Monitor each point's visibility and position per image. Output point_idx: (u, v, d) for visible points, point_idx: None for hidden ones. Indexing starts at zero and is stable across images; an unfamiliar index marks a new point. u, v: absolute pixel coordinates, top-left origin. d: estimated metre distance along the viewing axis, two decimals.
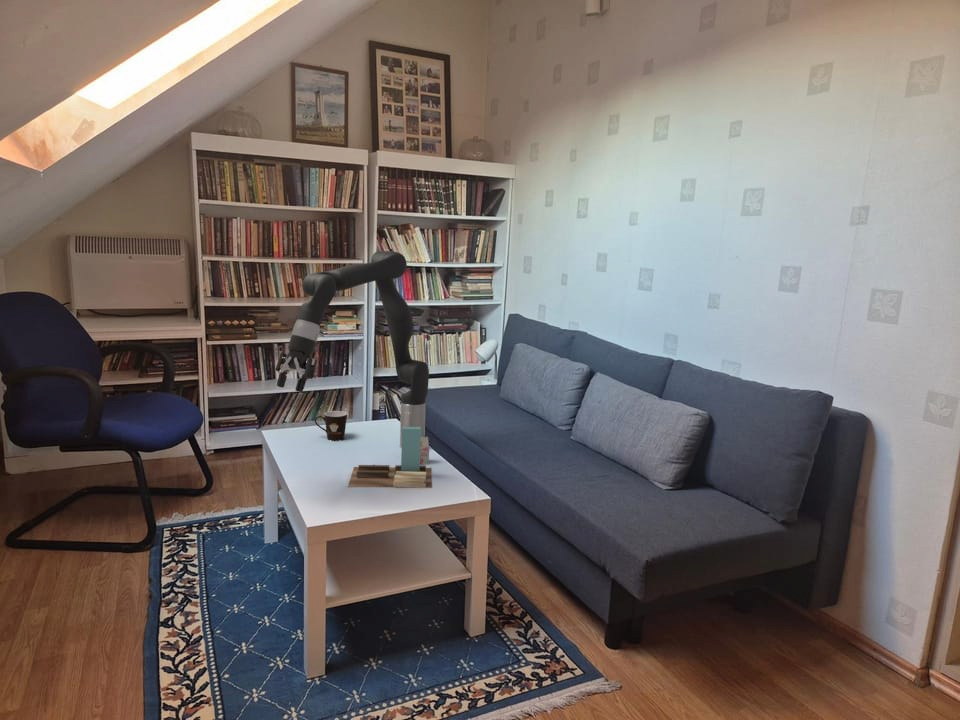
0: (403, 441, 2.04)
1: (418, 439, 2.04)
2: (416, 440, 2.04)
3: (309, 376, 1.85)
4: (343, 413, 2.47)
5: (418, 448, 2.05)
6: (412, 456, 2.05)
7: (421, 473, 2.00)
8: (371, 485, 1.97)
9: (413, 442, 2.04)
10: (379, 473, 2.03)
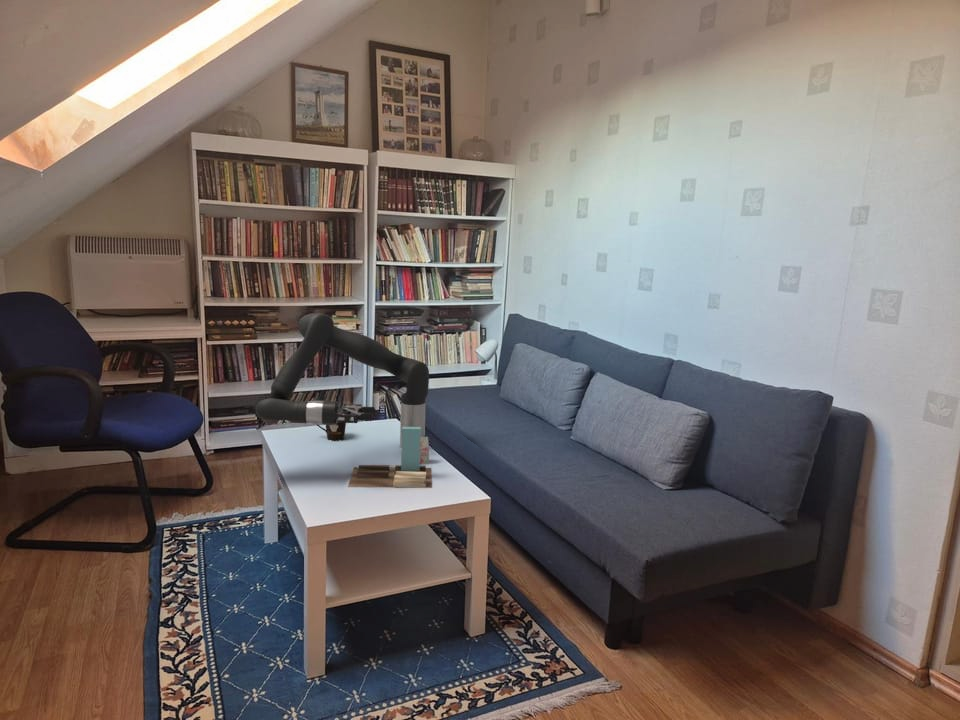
0: (403, 441, 2.04)
1: (418, 439, 2.04)
2: (416, 440, 2.04)
3: (355, 419, 1.95)
4: None
5: (418, 448, 2.05)
6: (412, 456, 2.05)
7: (421, 473, 2.00)
8: (371, 485, 1.97)
9: (413, 442, 2.04)
10: (379, 473, 2.03)
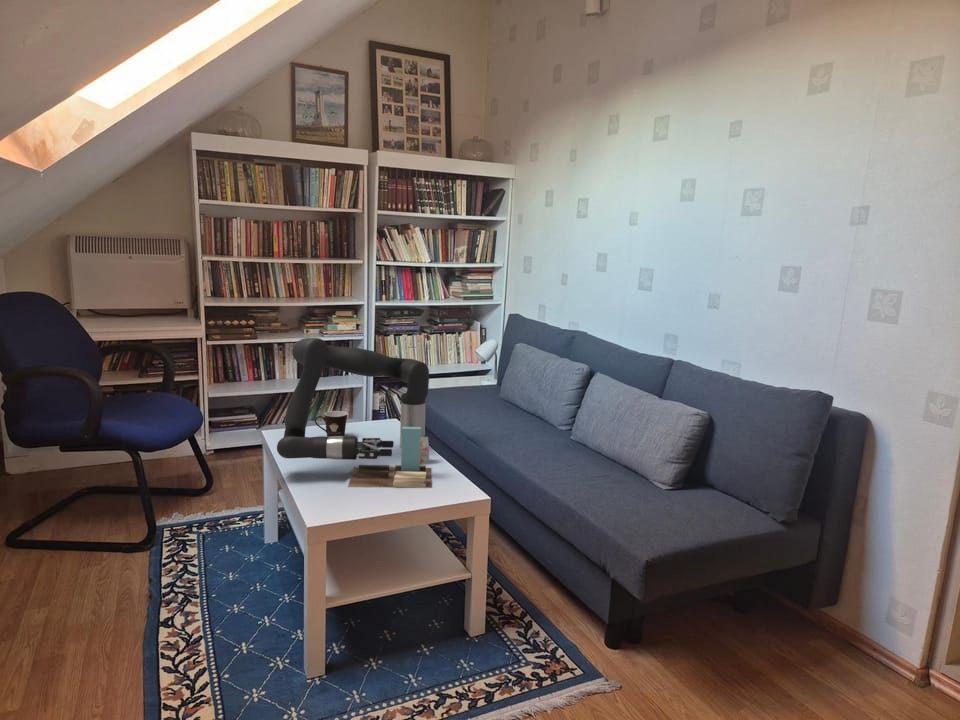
0: (403, 441, 2.04)
1: (418, 439, 2.04)
2: (416, 440, 2.04)
3: (375, 455, 1.98)
4: (343, 413, 2.47)
5: (418, 448, 2.05)
6: (412, 456, 2.05)
7: (421, 473, 2.00)
8: (371, 485, 1.97)
9: (413, 442, 2.04)
10: (379, 473, 2.03)
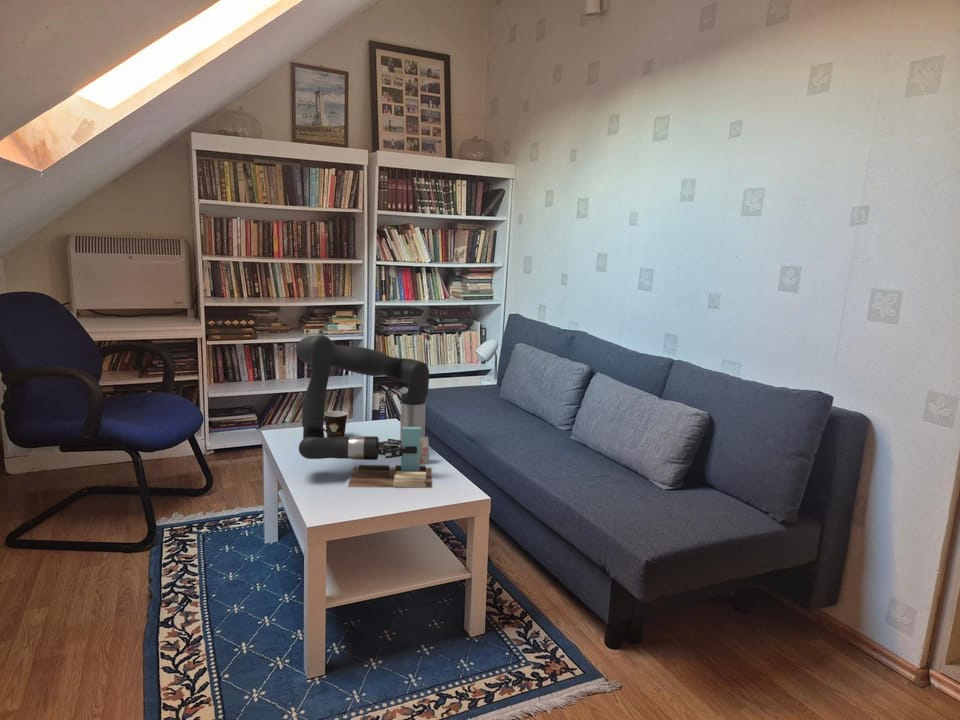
0: (403, 441, 2.04)
1: (418, 439, 2.04)
2: (416, 440, 2.04)
3: (401, 452, 2.01)
4: (343, 413, 2.47)
5: (418, 448, 2.05)
6: (412, 456, 2.05)
7: (421, 473, 2.00)
8: (371, 485, 1.97)
9: (413, 442, 2.04)
10: (379, 473, 2.03)
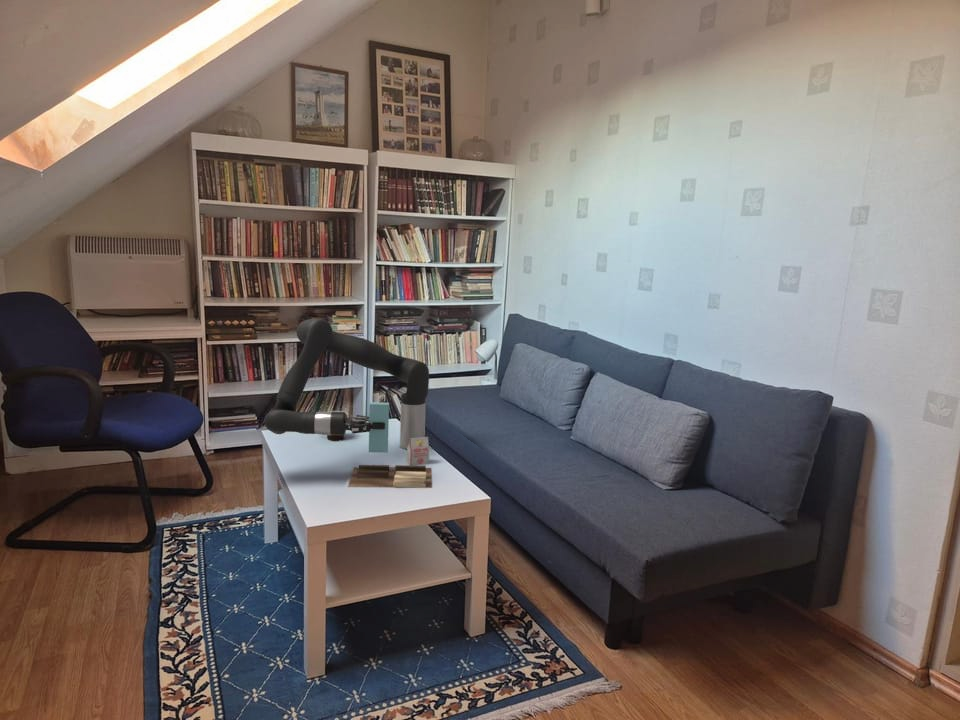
0: (371, 417, 2.01)
1: (386, 415, 2.02)
2: (384, 416, 2.02)
3: (368, 428, 1.99)
4: None
5: (386, 424, 2.02)
6: (379, 432, 2.02)
7: (421, 473, 2.00)
8: (371, 485, 1.97)
9: (381, 418, 2.02)
10: (379, 473, 2.03)
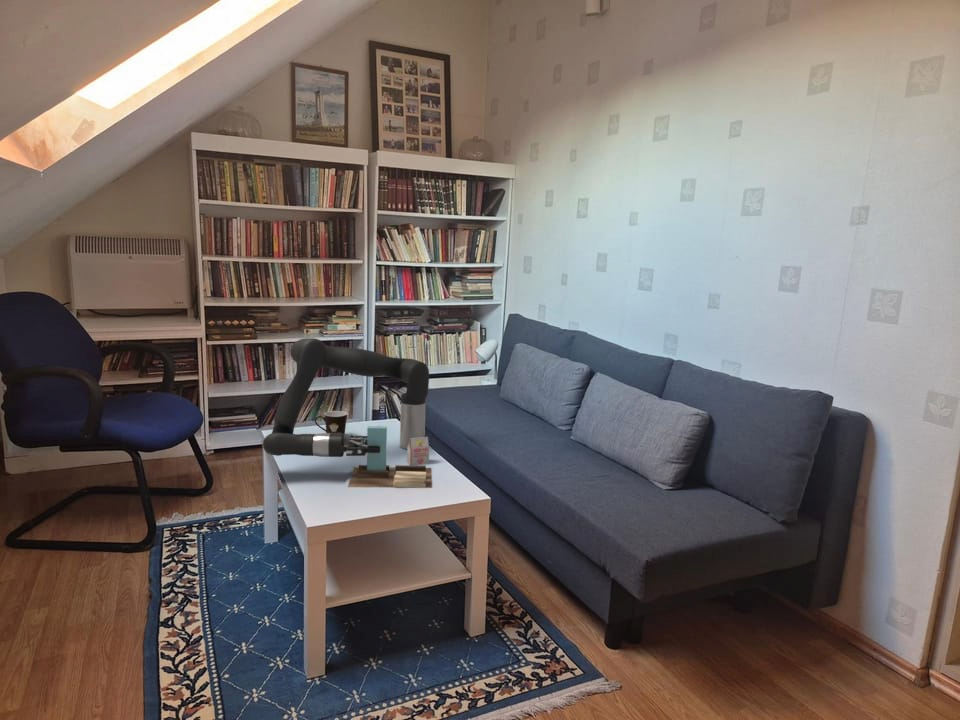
0: (369, 440, 2.03)
1: (383, 439, 2.03)
2: (381, 440, 2.03)
3: (363, 452, 1.98)
4: (343, 413, 2.47)
5: (384, 448, 2.04)
6: (377, 455, 2.04)
7: (421, 473, 2.00)
8: (371, 485, 1.97)
9: (379, 442, 2.03)
10: (379, 473, 2.03)
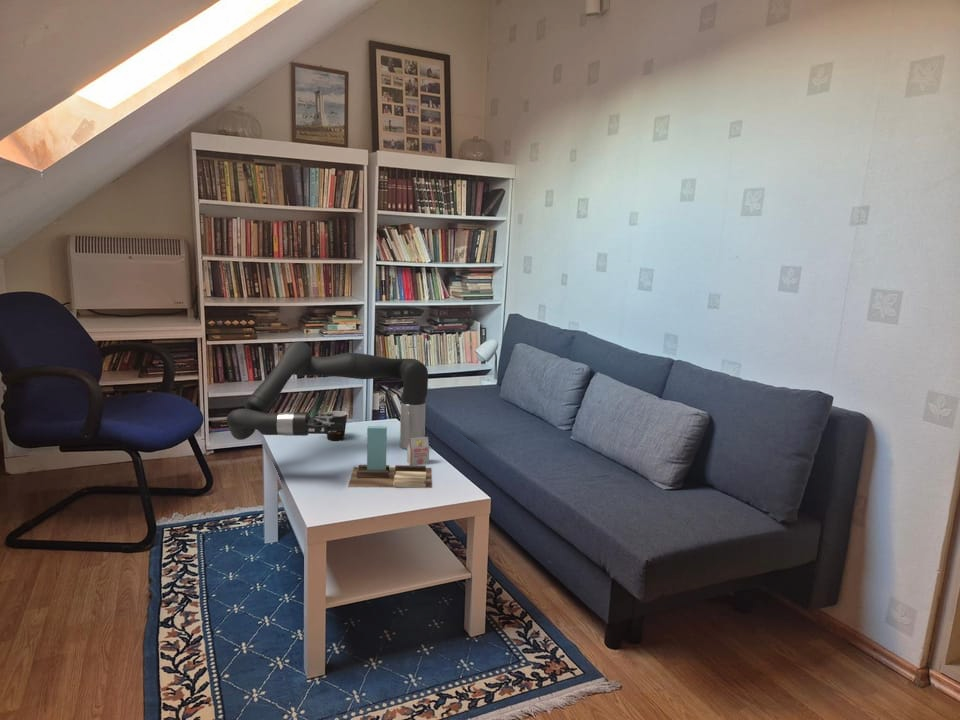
0: (369, 440, 2.03)
1: (383, 439, 2.03)
2: (381, 440, 2.03)
3: (325, 430, 1.96)
4: (343, 413, 2.47)
5: (384, 448, 2.04)
6: (377, 455, 2.04)
7: (421, 473, 2.00)
8: (371, 485, 1.97)
9: (379, 442, 2.03)
10: (379, 473, 2.03)
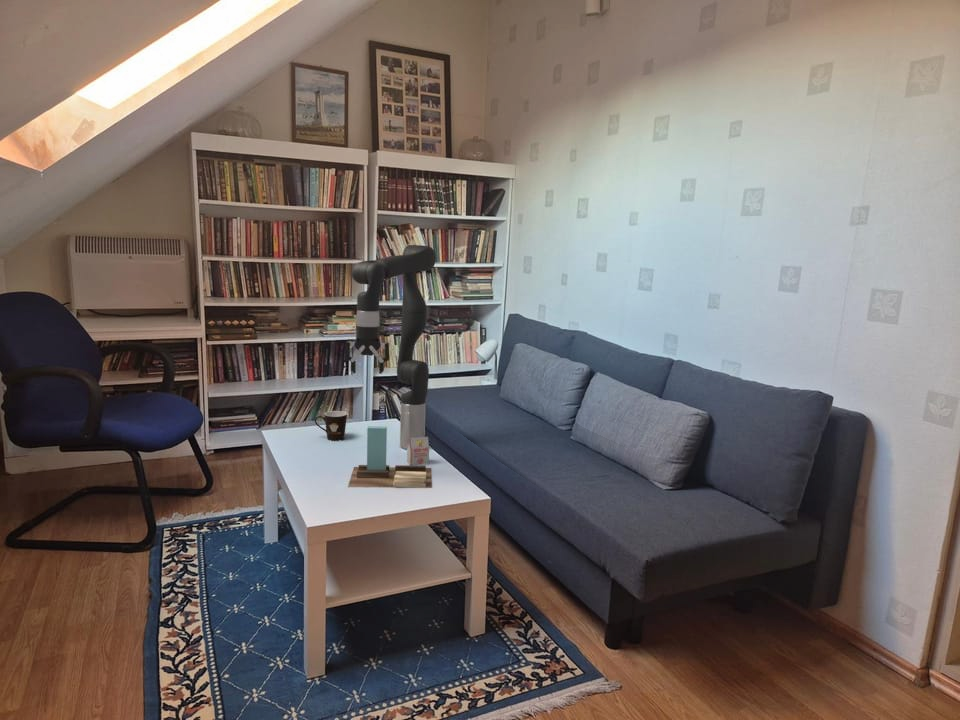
0: (369, 440, 2.03)
1: (383, 439, 2.03)
2: (381, 440, 2.03)
3: (389, 358, 2.08)
4: (343, 413, 2.47)
5: (384, 448, 2.04)
6: (377, 455, 2.04)
7: (421, 473, 2.00)
8: (371, 485, 1.97)
9: (379, 442, 2.03)
10: (379, 473, 2.03)
